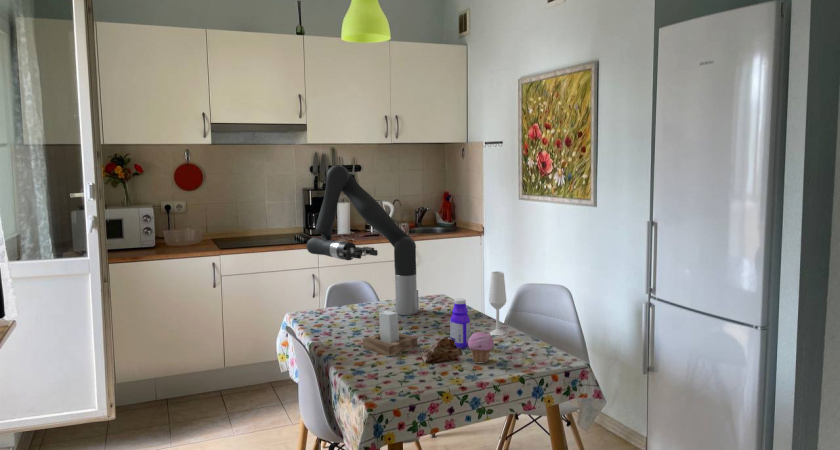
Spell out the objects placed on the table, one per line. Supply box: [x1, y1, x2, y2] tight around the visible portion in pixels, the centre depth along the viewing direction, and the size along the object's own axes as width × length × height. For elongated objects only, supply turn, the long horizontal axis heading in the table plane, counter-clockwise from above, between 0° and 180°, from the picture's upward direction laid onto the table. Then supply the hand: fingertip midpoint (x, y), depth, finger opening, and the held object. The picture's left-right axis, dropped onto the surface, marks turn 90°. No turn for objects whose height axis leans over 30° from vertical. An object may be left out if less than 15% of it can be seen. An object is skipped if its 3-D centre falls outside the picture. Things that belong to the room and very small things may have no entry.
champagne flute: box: [488, 270, 507, 336], centre depth 245 cm, size 7×7×24 cm
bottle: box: [449, 297, 471, 349], centre depth 231 cm, size 7×6×17 cm
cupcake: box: [468, 331, 495, 364], centre depth 215 cm, size 9×9×10 cm
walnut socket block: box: [362, 332, 418, 357], centre depth 232 cm, size 14×14×4 cm
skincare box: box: [378, 310, 400, 343], centre depth 231 cm, size 6×4×12 cm
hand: (368, 254), depth 254 cm, fingers open, 8 cm apart
